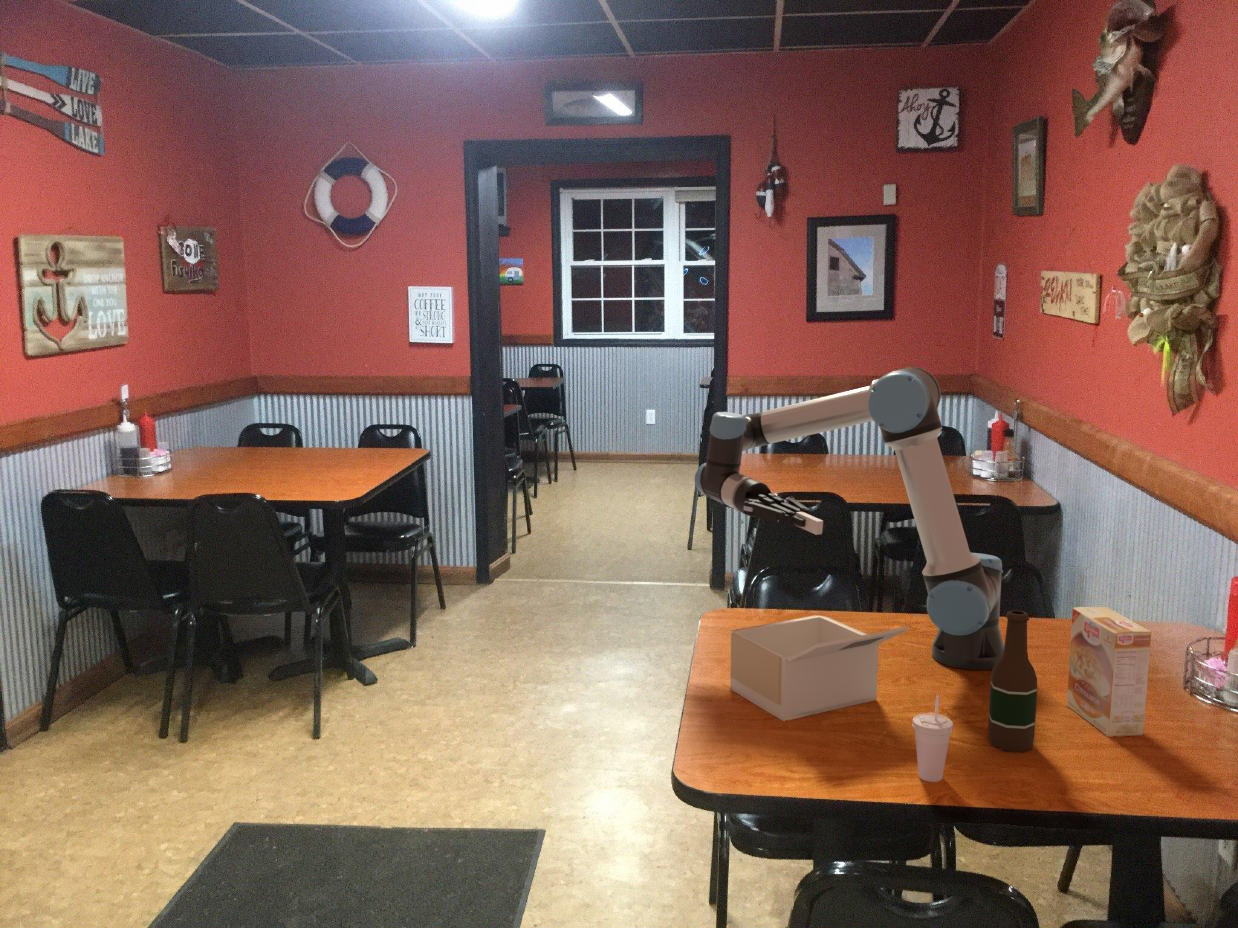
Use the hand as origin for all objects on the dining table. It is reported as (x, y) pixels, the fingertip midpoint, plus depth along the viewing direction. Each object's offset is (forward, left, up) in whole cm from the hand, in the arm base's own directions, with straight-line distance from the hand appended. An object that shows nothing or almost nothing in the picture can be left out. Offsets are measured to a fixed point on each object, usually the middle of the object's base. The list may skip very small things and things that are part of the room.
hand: (819, 527), depth 208 cm
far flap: (-10, +11, -18) cm, 24 cm away
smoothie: (-31, +26, -33) cm, 52 cm away
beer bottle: (-39, +6, -33) cm, 52 cm away
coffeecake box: (-51, -14, -33) cm, 62 cm away
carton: (+1, +4, -33) cm, 33 cm away
